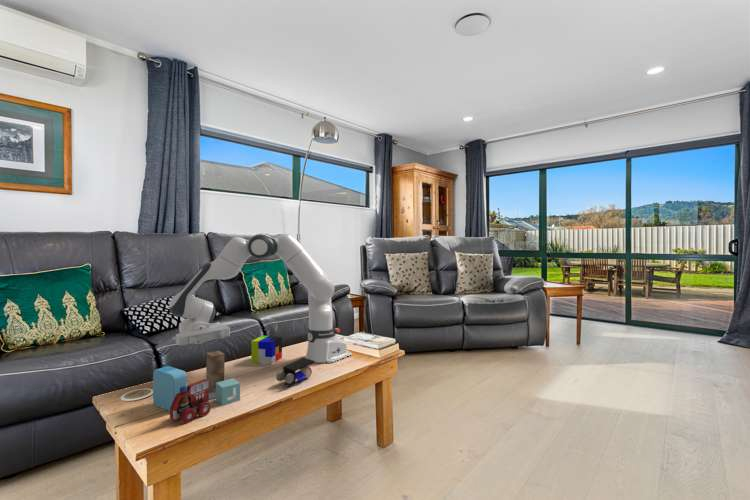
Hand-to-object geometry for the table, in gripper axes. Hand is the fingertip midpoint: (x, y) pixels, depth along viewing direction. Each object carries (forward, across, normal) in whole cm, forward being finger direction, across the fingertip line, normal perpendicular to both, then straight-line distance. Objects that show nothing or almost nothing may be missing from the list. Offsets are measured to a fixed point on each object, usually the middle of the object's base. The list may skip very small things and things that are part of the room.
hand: (210, 338), depth 145 cm
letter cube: (+24, -3, +17) cm, 29 cm away
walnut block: (+12, -3, +16) cm, 20 cm away
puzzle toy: (-8, +27, +17) cm, 33 cm away
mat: (+12, -3, +16) cm, 20 cm away
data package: (+15, -19, +16) cm, 29 cm away
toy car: (+25, +23, +18) cm, 38 cm away
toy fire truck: (+28, -16, +16) cm, 36 cm away
